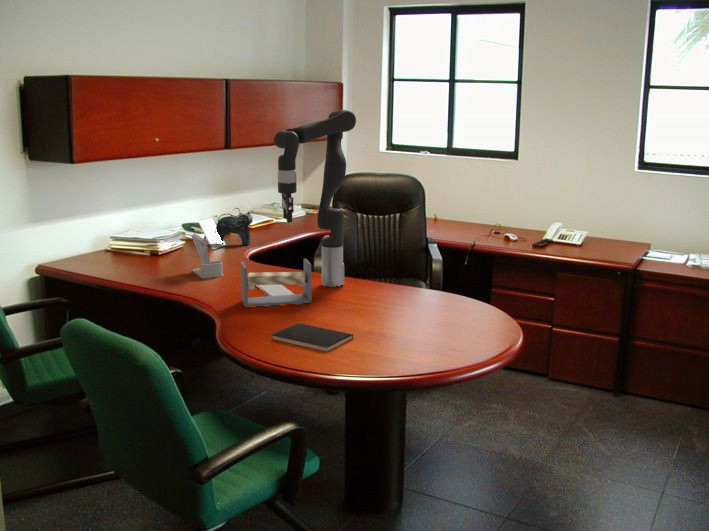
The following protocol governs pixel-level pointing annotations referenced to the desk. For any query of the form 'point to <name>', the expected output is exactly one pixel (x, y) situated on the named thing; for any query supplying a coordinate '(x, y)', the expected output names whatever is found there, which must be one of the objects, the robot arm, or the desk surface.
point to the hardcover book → (312, 336)
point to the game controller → (235, 226)
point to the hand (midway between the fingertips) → (287, 220)
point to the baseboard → (275, 290)
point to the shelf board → (276, 278)
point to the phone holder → (206, 260)
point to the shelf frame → (277, 299)
